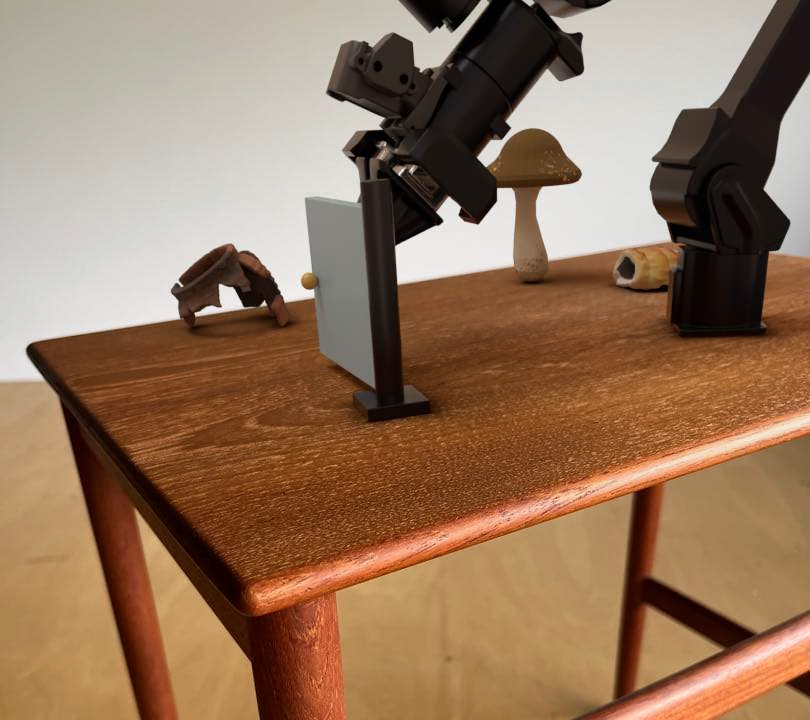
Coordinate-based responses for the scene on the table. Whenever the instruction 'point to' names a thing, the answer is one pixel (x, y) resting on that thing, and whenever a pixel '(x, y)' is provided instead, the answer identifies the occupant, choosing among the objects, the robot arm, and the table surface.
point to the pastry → (644, 267)
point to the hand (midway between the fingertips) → (337, 268)
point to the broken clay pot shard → (228, 284)
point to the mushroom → (531, 191)
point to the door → (340, 284)
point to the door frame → (384, 311)
